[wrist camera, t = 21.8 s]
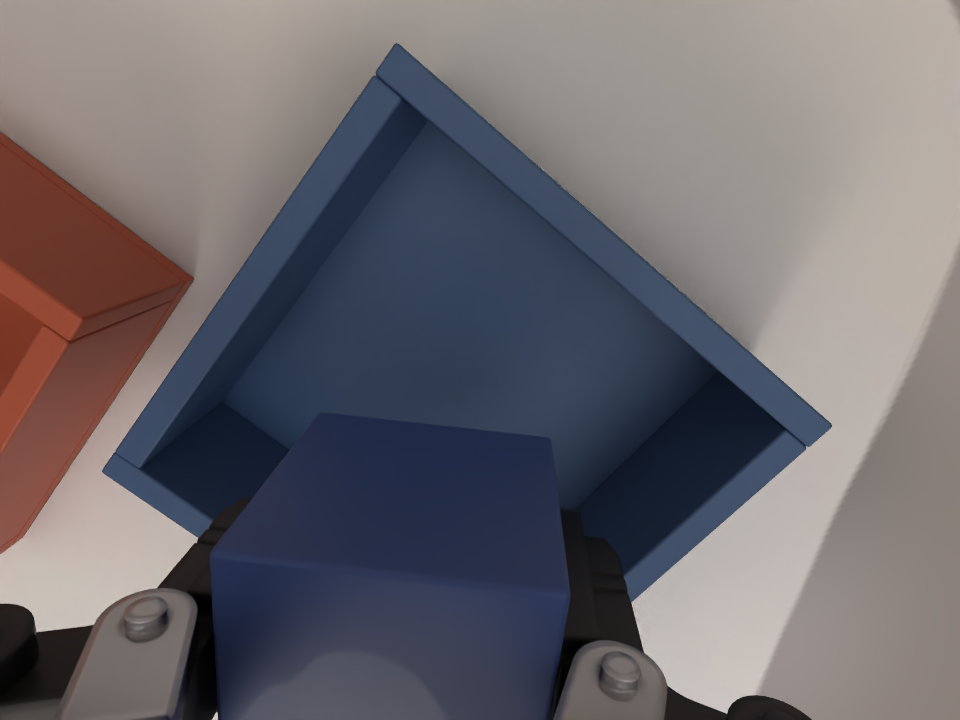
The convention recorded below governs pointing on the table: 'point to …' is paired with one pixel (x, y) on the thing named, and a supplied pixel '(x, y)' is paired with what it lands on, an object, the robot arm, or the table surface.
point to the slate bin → (466, 338)
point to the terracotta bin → (64, 326)
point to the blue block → (394, 578)
